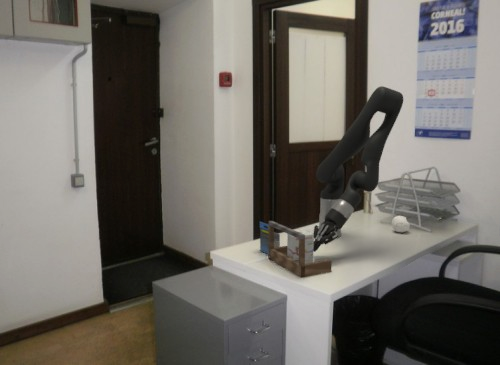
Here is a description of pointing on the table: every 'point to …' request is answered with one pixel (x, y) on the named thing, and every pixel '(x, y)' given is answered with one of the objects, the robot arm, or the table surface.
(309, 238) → the ink box
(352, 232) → the table surface
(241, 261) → the table surface
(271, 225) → the frame
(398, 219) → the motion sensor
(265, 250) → the label tape cartridge
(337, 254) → the table surface
